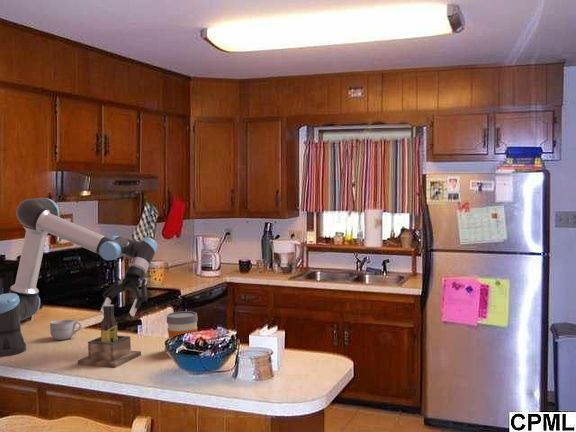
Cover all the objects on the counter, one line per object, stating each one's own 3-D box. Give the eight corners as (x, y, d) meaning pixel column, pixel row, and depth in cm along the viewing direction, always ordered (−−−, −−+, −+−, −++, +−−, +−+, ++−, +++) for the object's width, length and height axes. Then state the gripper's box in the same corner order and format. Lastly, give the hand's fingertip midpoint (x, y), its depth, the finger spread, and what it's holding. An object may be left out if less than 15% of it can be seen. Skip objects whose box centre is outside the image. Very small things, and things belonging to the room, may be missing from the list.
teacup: (45, 341, 275) (44, 323, 274) (60, 335, 285) (59, 317, 285) (73, 342, 271) (72, 324, 271) (87, 336, 282) (86, 318, 281)
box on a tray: (78, 364, 237) (77, 343, 237) (105, 352, 253) (104, 332, 253) (115, 367, 232) (114, 346, 231) (141, 355, 248) (140, 335, 247)
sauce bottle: (113, 358, 239) (111, 307, 238) (98, 357, 240) (96, 307, 239) (121, 353, 245) (119, 303, 244) (106, 353, 246) (104, 303, 245)
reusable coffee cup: (195, 345, 261) (193, 309, 260) (202, 352, 249) (200, 315, 248) (165, 348, 256) (163, 312, 255) (170, 356, 244) (169, 319, 244)
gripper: (166, 276, 257) (147, 320, 244) (115, 274, 266) (95, 317, 252) (159, 266, 252) (139, 310, 239) (107, 264, 260) (86, 307, 247)
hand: (116, 314), depth 245 cm, fingers open, 13 cm apart
